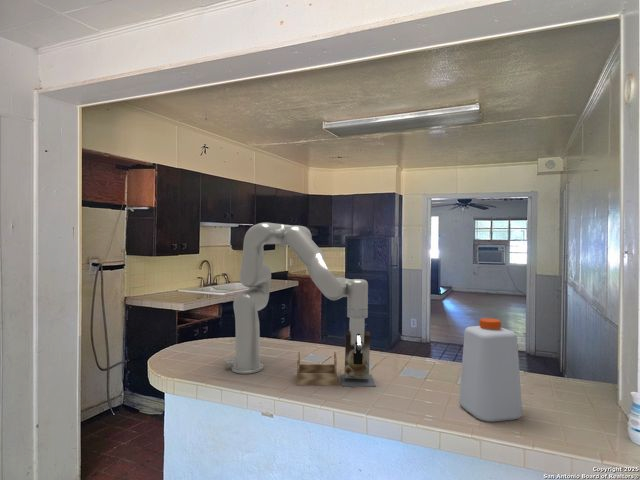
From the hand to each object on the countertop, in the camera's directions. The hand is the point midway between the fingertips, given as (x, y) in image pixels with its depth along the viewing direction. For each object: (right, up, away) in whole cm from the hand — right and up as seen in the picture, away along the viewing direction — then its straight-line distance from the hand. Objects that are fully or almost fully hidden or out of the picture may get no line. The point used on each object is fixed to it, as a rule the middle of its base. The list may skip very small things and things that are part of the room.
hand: (356, 360), depth 149 cm
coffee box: (0, -6, 0) cm, 6 cm away
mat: (0, -8, 0) cm, 8 cm away
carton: (-15, -7, +1) cm, 17 cm away
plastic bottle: (+38, -8, -26) cm, 47 cm away
